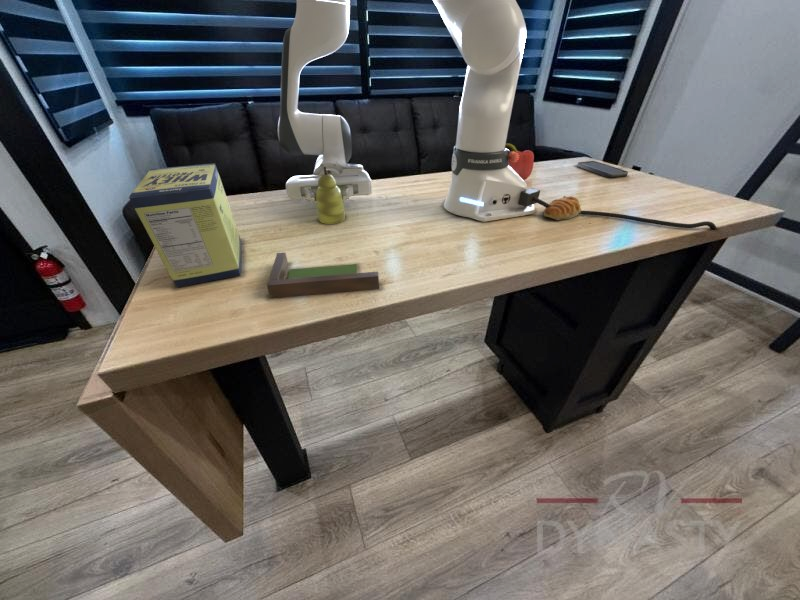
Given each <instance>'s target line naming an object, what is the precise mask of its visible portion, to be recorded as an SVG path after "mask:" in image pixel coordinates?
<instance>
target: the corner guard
mask: <svg viewBox="0 0 800 600" xmlns="http://www.w3.org/2000/svg"><path fill="white" fill-rule="evenodd" d="M288 267H289V261H288V258H287V253H286V252H277V253H276V255H275V259H274V261H273V265H272V268H271V270H270V275H269V277H268V281H267V283H266V287H267V291H268V294H269V298H270V299H275V298H277V299H278V298H288V297H289V298H290V297H300V296H310V295H311V296H312V295H323V294H334V293H347V292H357V291H368V290H379V289H380V276H379V272H378V271H367V272H357V273H353V274H341V275H329V276H316V277H304V278H292V279H287V278H286V276H287V270H288Z"/></svg>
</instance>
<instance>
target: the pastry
mask: <svg viewBox="0 0 800 600" xmlns="http://www.w3.org/2000/svg"><path fill="white" fill-rule="evenodd" d="M548 204H549V205H550V207H548V208H546V207H545V209H544V211H543V216H544V217H547V218H550V219H553V220H556V221H561V220H568V219H571V218H572V219H573V218H574V217H577V216H578V214H579V213H580V212H581V211H582V208H581V204H580V200H579V199H578V198H577V197H576V196H575V197H574V196H566V195H564V196H562V197H560V198H555V199H553V200H551V202H549V203H548Z"/></svg>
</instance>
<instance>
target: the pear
mask: <svg viewBox="0 0 800 600" xmlns="http://www.w3.org/2000/svg"><path fill="white" fill-rule="evenodd" d="M318 186H319V187H318V188H317V190H316V193H315V199H316V201H315V204H316V211H317V217H318V218H317V219H318V221H319V223H321V224H325V225H335V224H336V225H337V224H339V223H342V222H344V221H345V219H346V213H345V212H346V211H345V204H344V203H345V202H344V200H343V196H342V192H341V190H340V189H339V187H338V186H336V180H335V178H334V177H333V176H332V175H330V174H327V168H326V167H324V174H323V175H322V176H320V178H319V180H318Z"/></svg>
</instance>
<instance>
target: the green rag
mask: <svg viewBox="0 0 800 600" xmlns="http://www.w3.org/2000/svg"><path fill="white" fill-rule="evenodd" d="M353 273H358V271H357V264H341V265H340V264H339V265H328V266H317V267H303V268H291V269H289V270H288V275H287V278H286V279H292V278H304V277H316V276H329V275H341V274H353Z"/></svg>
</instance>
